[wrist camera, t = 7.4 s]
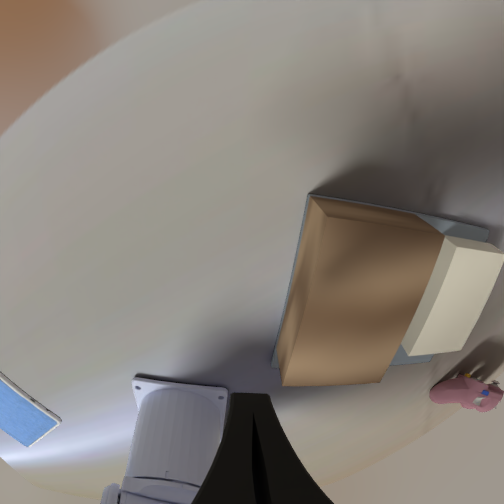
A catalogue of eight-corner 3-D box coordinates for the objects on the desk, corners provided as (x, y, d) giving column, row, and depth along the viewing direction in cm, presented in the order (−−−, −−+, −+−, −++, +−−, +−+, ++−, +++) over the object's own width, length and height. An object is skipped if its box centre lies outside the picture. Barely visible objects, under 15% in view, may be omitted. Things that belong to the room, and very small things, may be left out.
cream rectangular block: (408, 356, 20) (398, 339, 21) (460, 350, 20) (449, 336, 22) (456, 246, 16) (440, 234, 18) (506, 254, 16) (490, 243, 18)
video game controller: (475, 373, 29) (515, 387, 22) (460, 405, 28) (498, 423, 22) (441, 359, 26) (490, 377, 20) (423, 397, 26) (469, 421, 19)
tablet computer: (-17, 351, 22) (-22, 358, 21) (65, 417, 27) (62, 425, 26) (-28, 397, 27) (-31, 403, 26) (31, 443, 32) (29, 449, 31)
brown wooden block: (362, 345, 22) (379, 382, 18) (275, 344, 21) (282, 386, 18) (410, 211, 17) (445, 235, 14) (307, 193, 17) (327, 217, 13)
